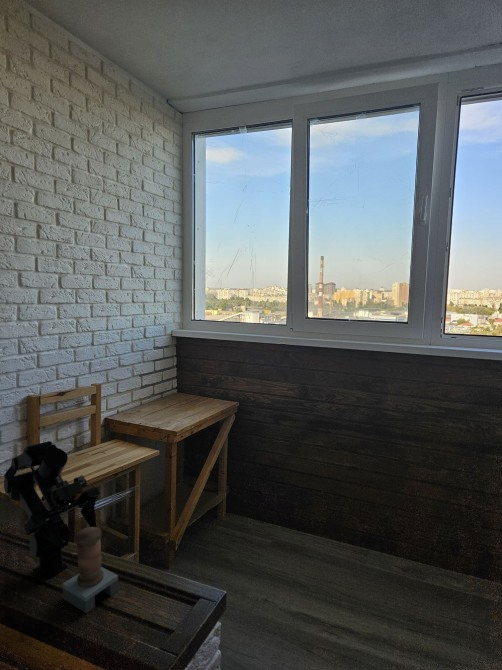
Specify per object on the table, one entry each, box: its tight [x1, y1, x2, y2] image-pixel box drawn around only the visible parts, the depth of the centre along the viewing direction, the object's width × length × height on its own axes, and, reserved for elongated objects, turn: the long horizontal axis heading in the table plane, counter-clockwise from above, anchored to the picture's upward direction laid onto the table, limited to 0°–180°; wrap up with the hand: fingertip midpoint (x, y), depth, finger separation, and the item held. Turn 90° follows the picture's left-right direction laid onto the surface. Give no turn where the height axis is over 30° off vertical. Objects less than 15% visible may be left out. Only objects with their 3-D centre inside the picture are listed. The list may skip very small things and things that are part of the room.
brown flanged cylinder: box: [74, 526, 103, 588], centre depth 106 cm, size 6×6×12 cm
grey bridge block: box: [62, 566, 120, 614], centre depth 107 cm, size 9×9×4 cm
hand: (79, 538), depth 108 cm, fingers open, 9 cm apart
